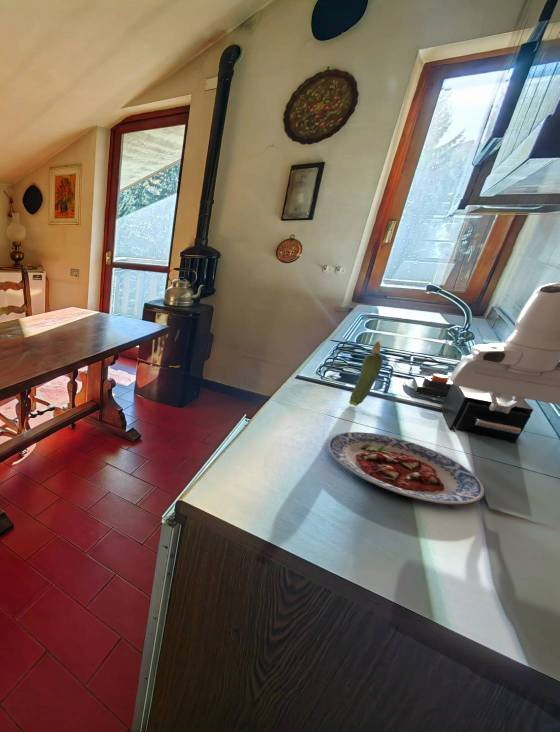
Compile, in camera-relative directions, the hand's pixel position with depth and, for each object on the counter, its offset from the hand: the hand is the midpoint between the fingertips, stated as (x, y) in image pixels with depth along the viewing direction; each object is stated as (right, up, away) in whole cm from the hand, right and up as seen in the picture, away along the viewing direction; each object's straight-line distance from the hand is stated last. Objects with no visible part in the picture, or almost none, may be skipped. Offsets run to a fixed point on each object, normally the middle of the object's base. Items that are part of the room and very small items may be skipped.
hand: (498, 411), depth 93 cm
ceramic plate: (-32, -13, -8) cm, 35 cm away
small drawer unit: (+3, -5, +7) cm, 9 cm away
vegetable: (-17, 0, +21) cm, 27 cm away
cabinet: (+6, -5, +11) cm, 13 cm away
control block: (+16, +4, +31) cm, 35 cm away
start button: (+16, +8, +30) cm, 34 cm away
